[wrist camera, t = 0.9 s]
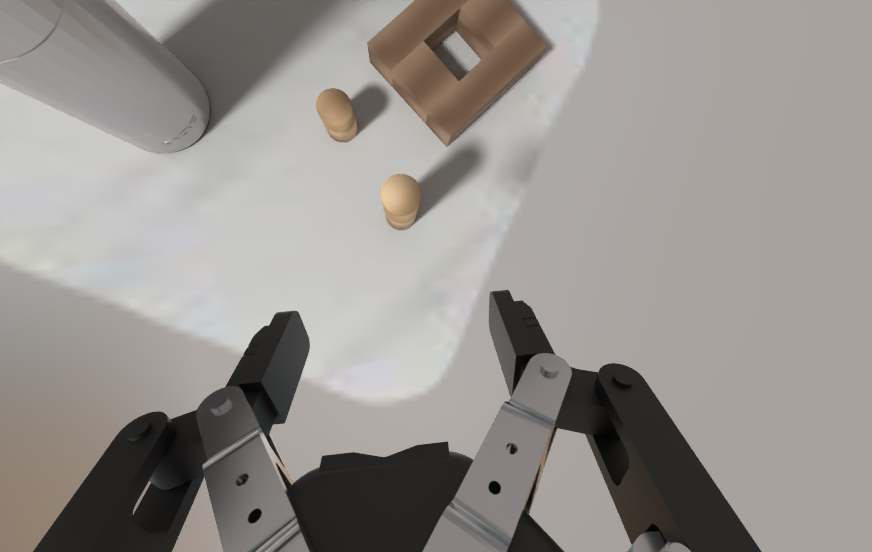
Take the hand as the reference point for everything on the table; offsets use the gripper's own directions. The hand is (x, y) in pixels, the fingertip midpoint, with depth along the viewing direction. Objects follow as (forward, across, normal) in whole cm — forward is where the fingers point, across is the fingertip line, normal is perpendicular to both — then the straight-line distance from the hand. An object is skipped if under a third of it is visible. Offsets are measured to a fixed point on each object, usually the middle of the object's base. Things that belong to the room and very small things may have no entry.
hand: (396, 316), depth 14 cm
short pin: (+28, +6, -4) cm, 28 cm away
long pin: (+23, +1, +5) cm, 23 cm away
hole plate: (+32, -7, -9) cm, 34 cm away
